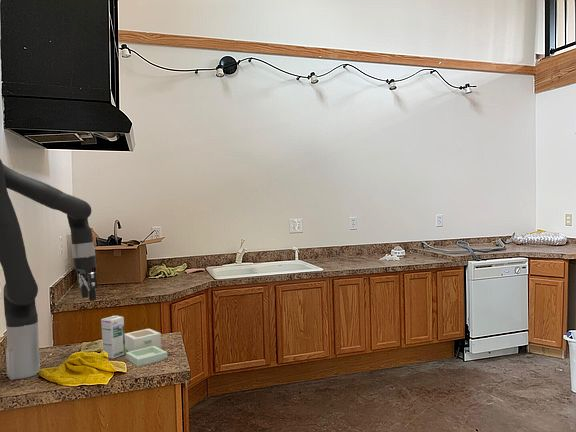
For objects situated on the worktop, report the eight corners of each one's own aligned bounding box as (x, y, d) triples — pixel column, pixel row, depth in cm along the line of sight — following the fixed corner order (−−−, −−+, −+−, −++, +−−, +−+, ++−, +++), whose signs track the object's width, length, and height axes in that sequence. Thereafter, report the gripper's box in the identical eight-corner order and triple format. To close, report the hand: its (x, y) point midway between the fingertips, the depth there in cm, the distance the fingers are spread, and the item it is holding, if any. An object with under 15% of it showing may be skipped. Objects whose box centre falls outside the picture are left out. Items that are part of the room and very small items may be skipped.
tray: (138, 366, 155) (137, 359, 155) (125, 359, 163) (125, 352, 163) (167, 358, 162) (167, 352, 162) (154, 352, 170) (154, 345, 170)
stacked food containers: (135, 355, 167) (134, 339, 167) (123, 349, 175) (123, 333, 175) (162, 349, 174) (161, 333, 174) (149, 343, 182) (149, 328, 182)
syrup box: (113, 359, 164) (111, 319, 164) (102, 357, 167) (100, 318, 166) (125, 354, 169) (124, 316, 169) (115, 352, 172) (113, 314, 171)
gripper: (67, 255, 165) (72, 299, 166) (79, 258, 155) (84, 304, 156) (88, 252, 170) (93, 294, 171) (101, 254, 160) (106, 299, 161)
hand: (88, 299), depth 164 cm, fingers open, 8 cm apart
